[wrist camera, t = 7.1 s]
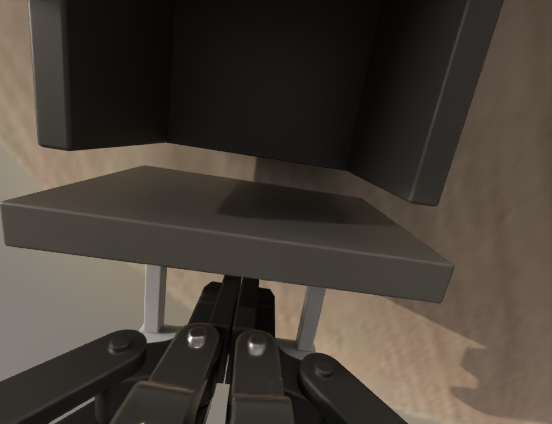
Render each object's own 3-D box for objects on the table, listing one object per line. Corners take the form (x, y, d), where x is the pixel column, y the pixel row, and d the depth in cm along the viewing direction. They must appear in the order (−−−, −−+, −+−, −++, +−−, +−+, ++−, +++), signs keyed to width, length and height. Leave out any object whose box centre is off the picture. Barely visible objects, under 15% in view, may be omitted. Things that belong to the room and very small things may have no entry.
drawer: (335, 309, 17) (387, 455, 9) (140, 284, 16) (22, 418, 9) (433, -89, 12) (737, -507, 4) (152, -148, 11) (-118, -781, 3)
